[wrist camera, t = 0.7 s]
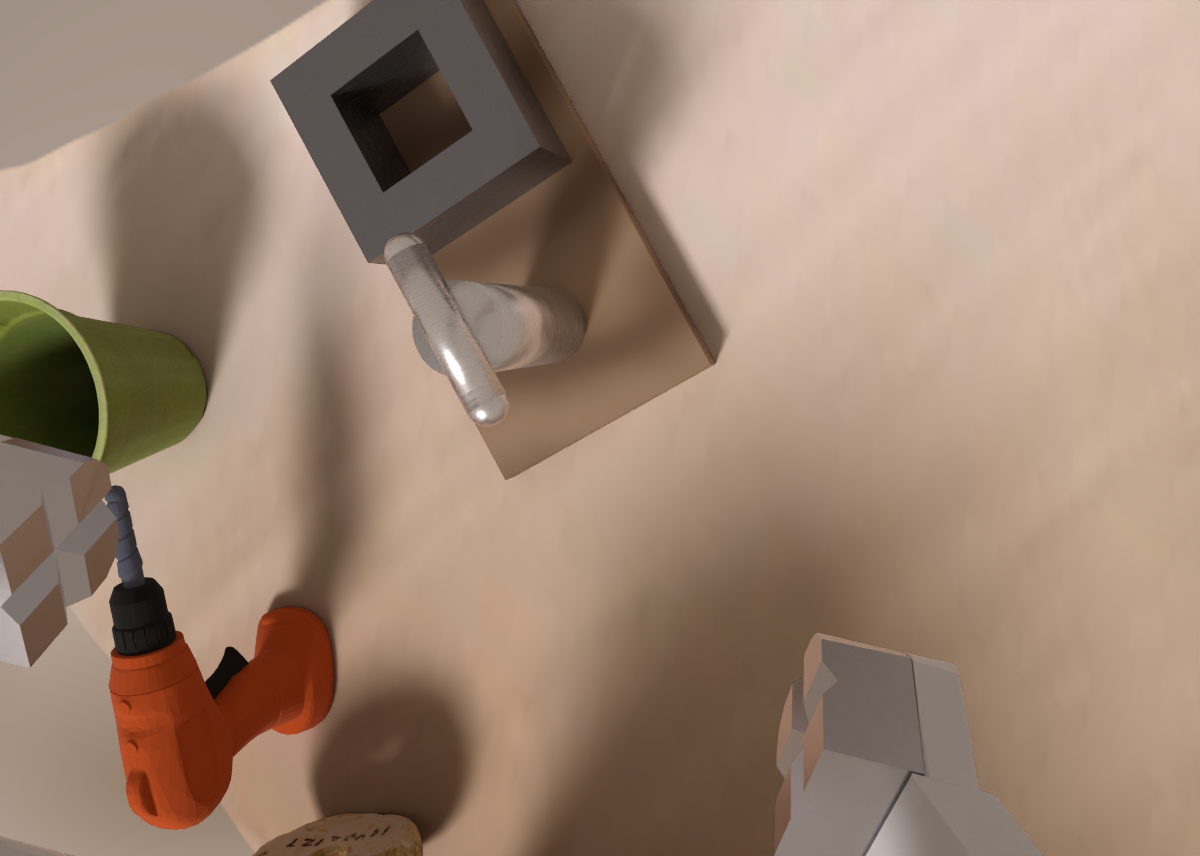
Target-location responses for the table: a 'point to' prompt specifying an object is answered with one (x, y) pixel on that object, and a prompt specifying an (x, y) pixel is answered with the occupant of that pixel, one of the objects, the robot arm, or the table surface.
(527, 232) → the beige thin flat slab
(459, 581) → the table surface
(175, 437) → the plant pot
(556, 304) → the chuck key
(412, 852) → the stone disc
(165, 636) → the toy drill
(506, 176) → the square socket block
